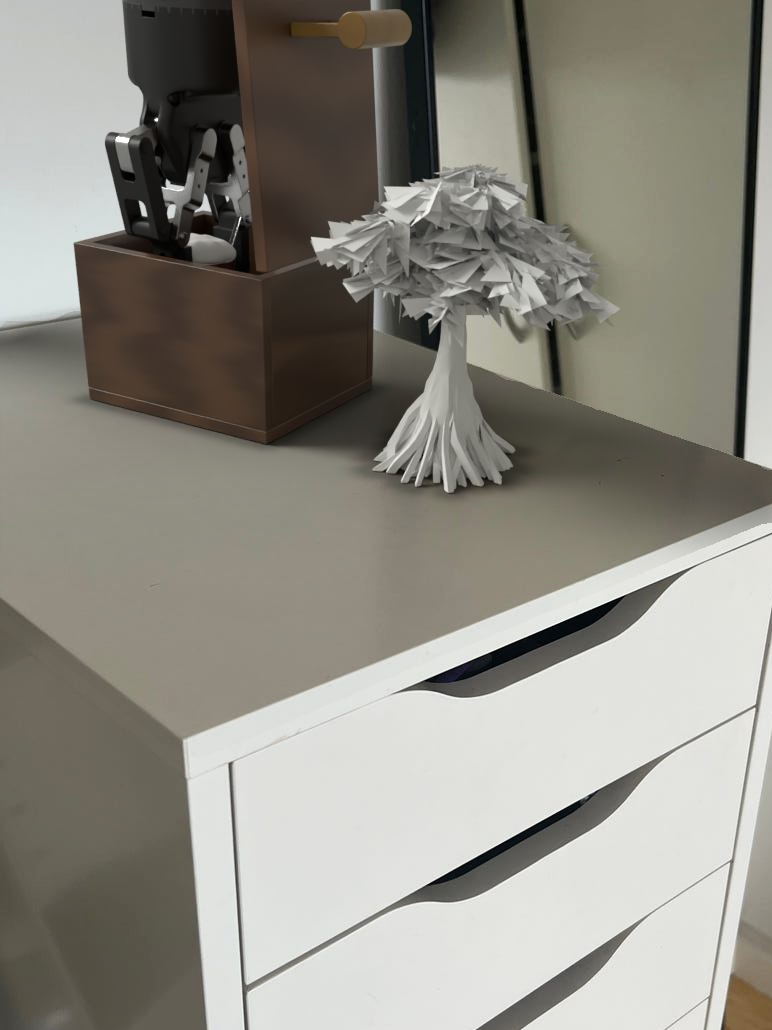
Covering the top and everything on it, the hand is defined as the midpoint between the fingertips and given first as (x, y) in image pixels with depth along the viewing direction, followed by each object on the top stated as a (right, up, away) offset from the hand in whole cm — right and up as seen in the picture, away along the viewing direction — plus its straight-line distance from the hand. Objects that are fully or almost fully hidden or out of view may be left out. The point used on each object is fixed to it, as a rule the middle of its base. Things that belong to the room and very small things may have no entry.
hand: (205, 294), depth 78 cm
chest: (+1, -6, +2) cm, 7 cm away
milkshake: (0, -5, +3) cm, 6 cm away
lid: (+8, +8, -8) cm, 14 cm away
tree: (+16, -12, -5) cm, 20 cm away
